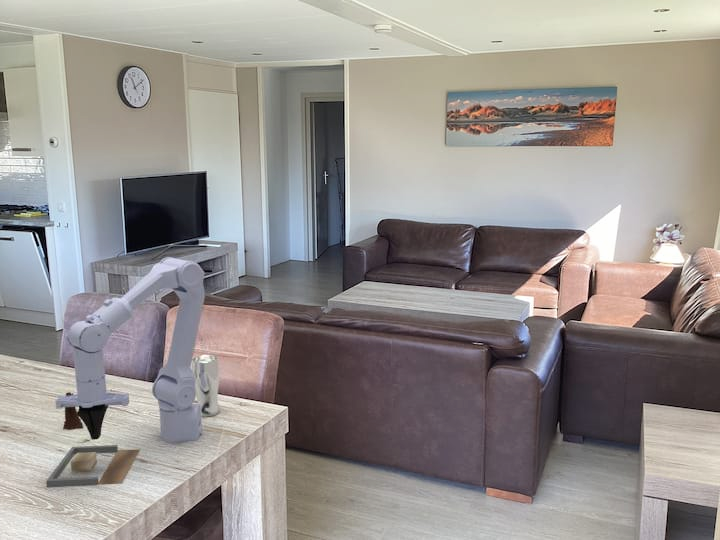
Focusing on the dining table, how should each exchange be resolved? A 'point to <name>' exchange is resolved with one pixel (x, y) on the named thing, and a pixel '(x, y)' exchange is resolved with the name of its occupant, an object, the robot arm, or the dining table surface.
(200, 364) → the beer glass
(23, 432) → the dining table surface
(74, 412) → the chess piece
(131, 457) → the walnut board
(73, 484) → the box
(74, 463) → the birch block
